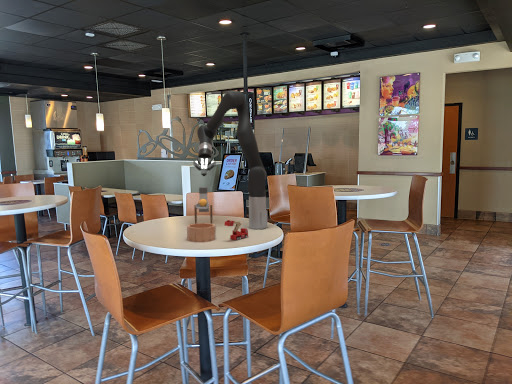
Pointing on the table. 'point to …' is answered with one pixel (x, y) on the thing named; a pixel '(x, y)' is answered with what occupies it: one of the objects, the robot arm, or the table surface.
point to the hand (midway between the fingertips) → (203, 175)
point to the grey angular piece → (202, 196)
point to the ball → (202, 202)
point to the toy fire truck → (235, 232)
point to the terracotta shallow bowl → (201, 232)
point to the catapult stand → (210, 214)
